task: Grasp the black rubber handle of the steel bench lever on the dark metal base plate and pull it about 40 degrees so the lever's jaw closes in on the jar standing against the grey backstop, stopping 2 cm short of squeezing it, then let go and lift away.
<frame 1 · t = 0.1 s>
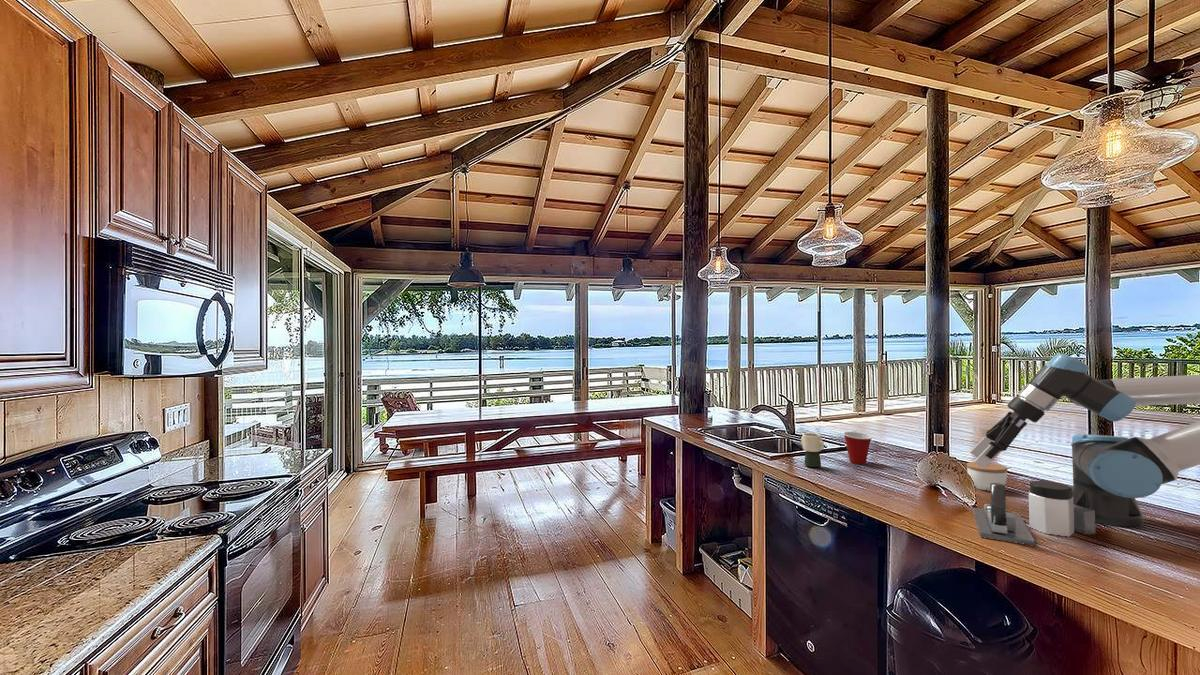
hand: (976, 460, 139), 15 cm above the countertop, tool tilted 35°, fingers open, 13 cm apart
press base: (1001, 527, 128), on the countertop
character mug: (812, 467, 192), on the countertop
lidded jar: (987, 489, 161), on the countertop
jar: (1051, 531, 126), on the countertop
lever: (999, 500, 128), point 7 cm above the countertop, hinge at 0.0°
backstop: (1073, 528, 127), on the countertop
plastic cup: (858, 463, 196), on the countertop
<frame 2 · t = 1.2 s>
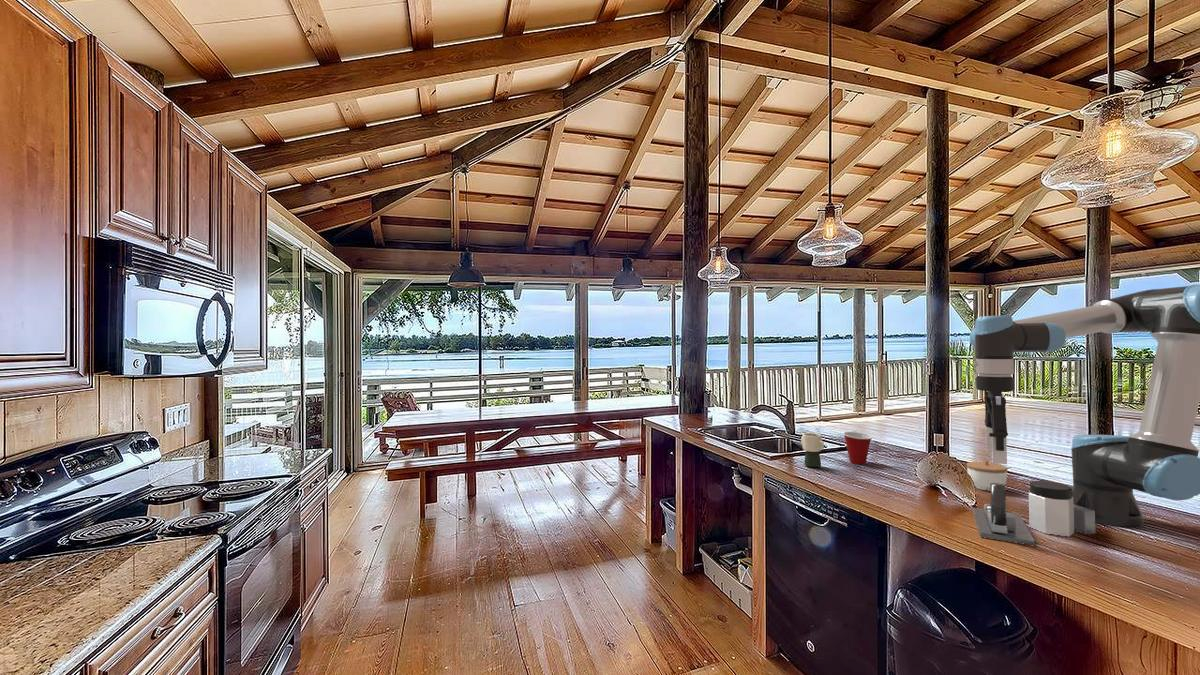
hand: (996, 457, 122), 20 cm above the countertop, tool pointing down, fingers open, 13 cm apart
nothing on the countertop moved.
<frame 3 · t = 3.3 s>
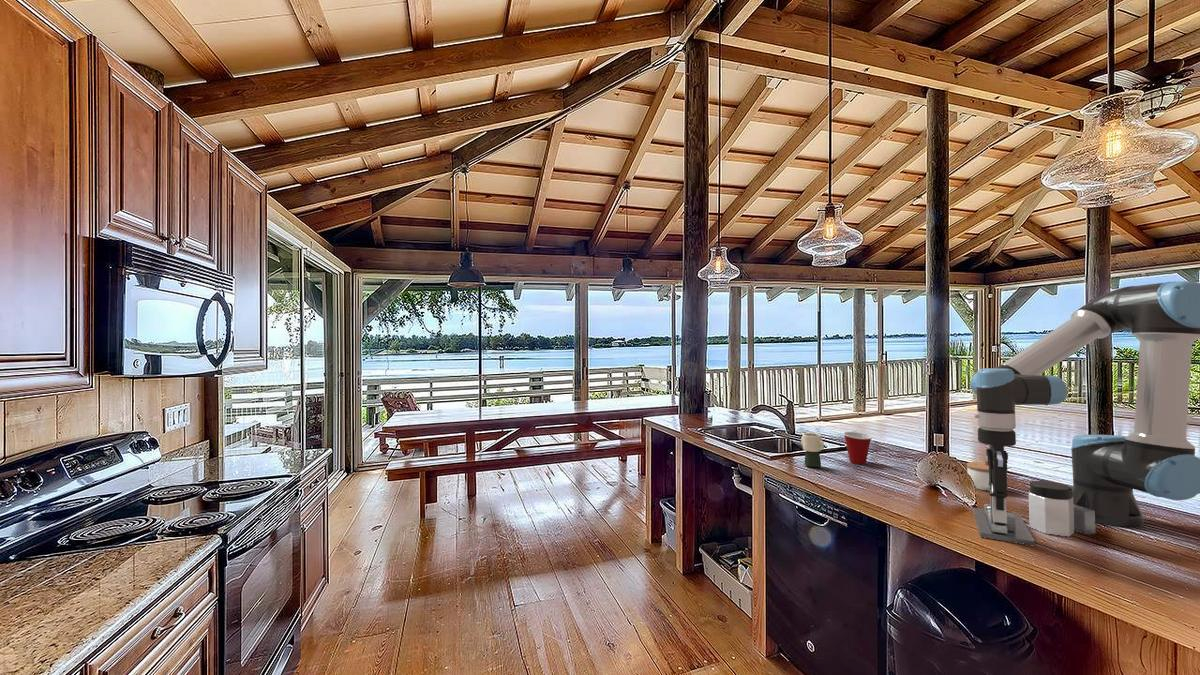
hand: (998, 519, 122), 5 cm above the countertop, tool pointing down, fingers closed on lever, 3 cm apart
lever: (999, 500, 128), point 7 cm above the countertop, hinge at 0.0°, touching gripper
everything else where it was.
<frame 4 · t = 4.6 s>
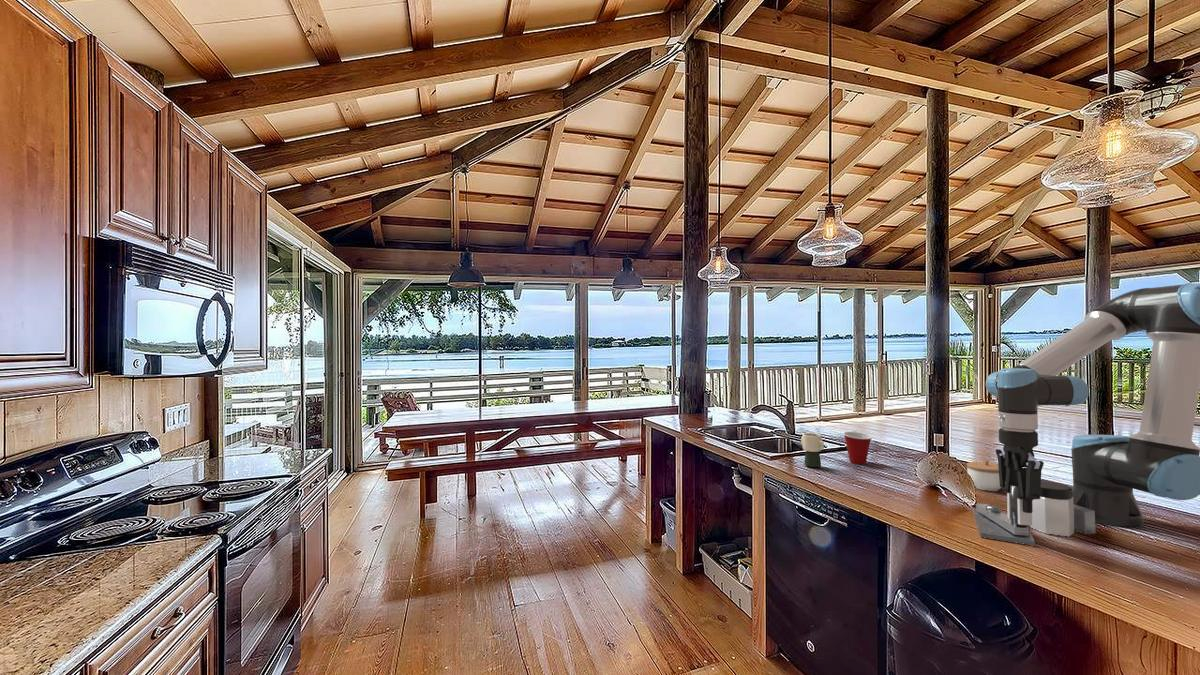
hand: (1019, 521, 120), 5 cm above the countertop, tool pointing down, fingers closed on lever, 3 cm apart
lever: (1004, 500, 128), point 7 cm above the countertop, hinge at 21.5°, touching gripper
everything else where it was.
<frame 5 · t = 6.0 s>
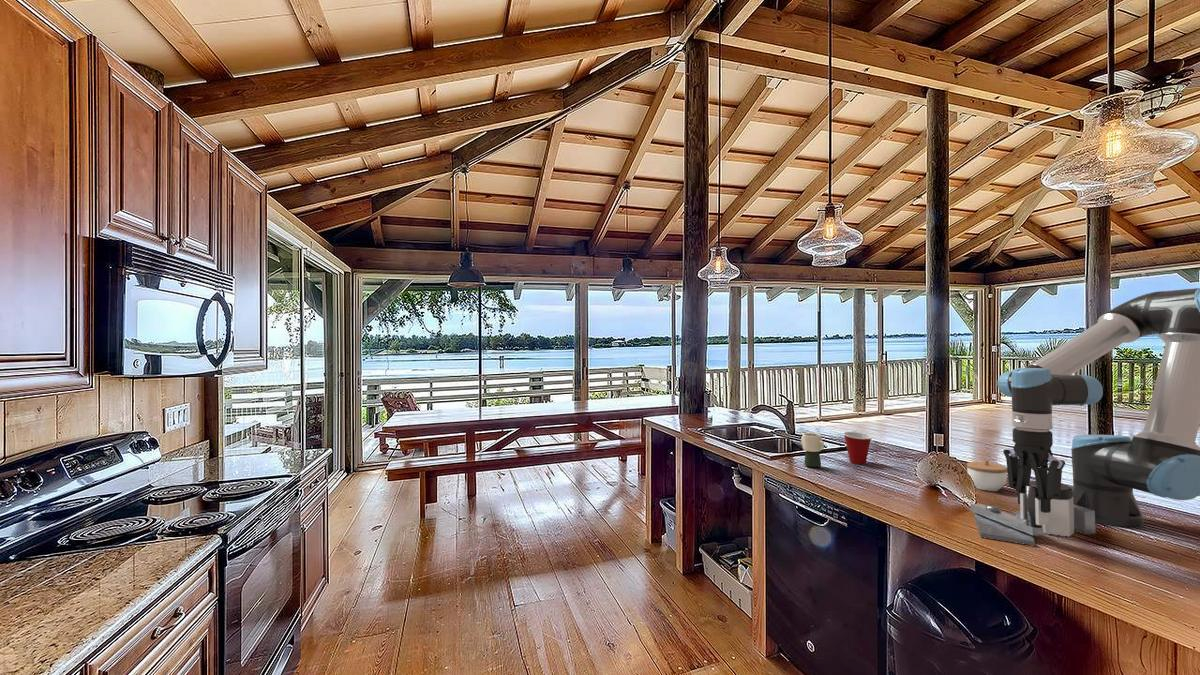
hand: (1034, 521, 120), 5 cm above the countertop, tool pointing down, fingers closed on lever, 3 cm apart
lever: (1008, 499, 128), point 7 cm above the countertop, hinge at 40.5°, touching gripper
everything else where it was.
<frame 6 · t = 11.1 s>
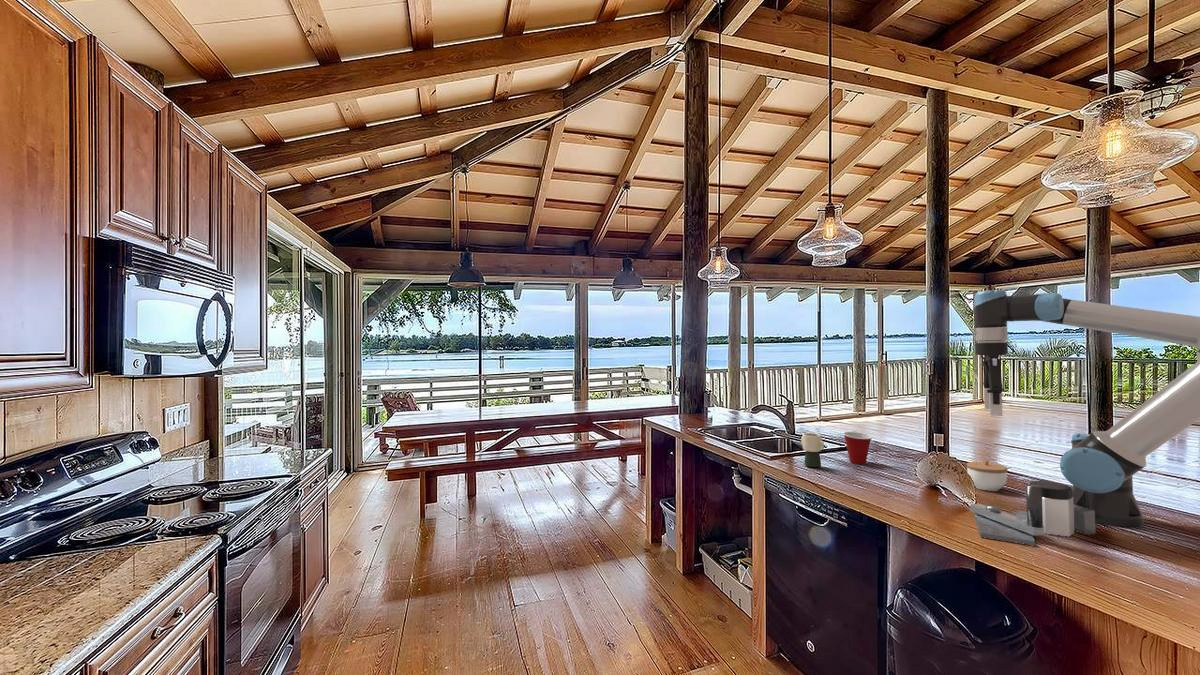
hand: (993, 412, 143), 29 cm above the countertop, tool pointing down, fingers open, 13 cm apart
lever: (1008, 499, 128), point 7 cm above the countertop, hinge at 41.8°
everything else where it was.
at the end: lever at +42° (first picture: +0°); jar moved 0.2 cm from its start; the gripper is holding nothing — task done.
